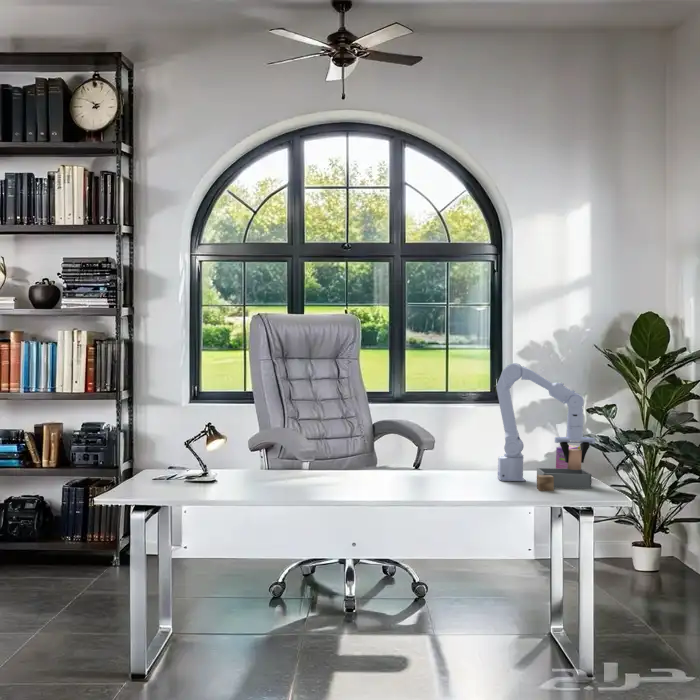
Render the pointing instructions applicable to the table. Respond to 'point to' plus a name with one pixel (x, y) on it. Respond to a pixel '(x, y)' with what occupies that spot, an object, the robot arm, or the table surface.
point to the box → (561, 459)
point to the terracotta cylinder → (574, 459)
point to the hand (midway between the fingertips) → (574, 462)
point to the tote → (567, 477)
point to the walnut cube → (545, 482)
